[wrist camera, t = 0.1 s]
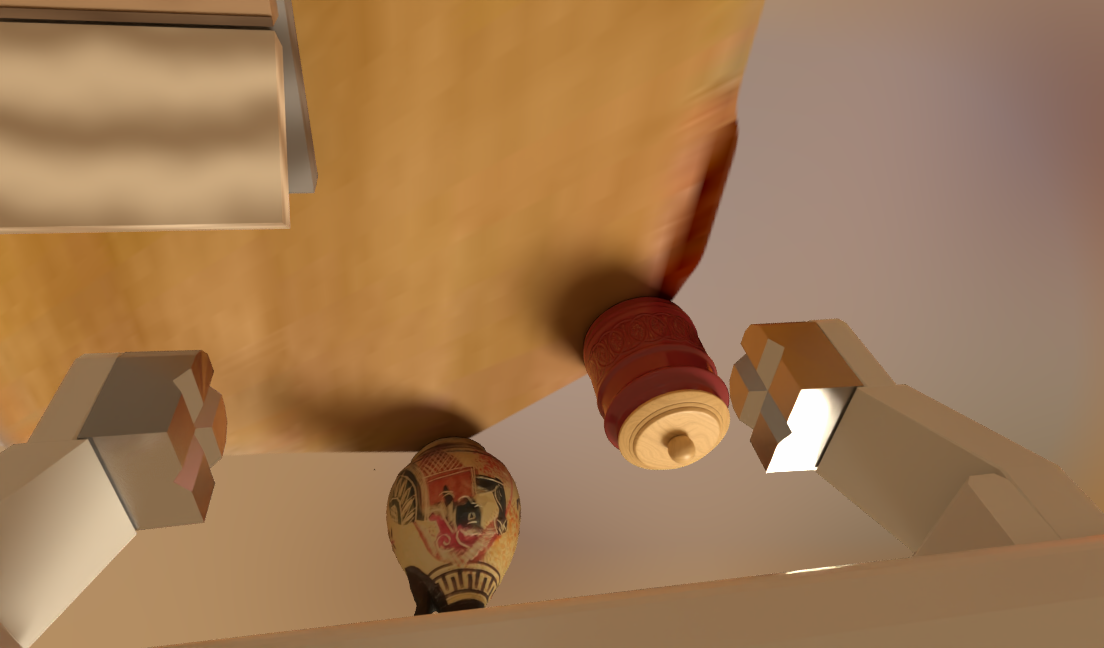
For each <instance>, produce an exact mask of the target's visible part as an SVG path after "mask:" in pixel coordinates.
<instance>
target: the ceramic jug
mask: <svg viewBox="0 0 1104 648" xmlns="http://www.w3.org/2000/svg"><path fill="white" fill-rule="evenodd" d="M386 514H387V516H386V520H387V527H388V535H389V539H390V542H391V544H392V549H393V552H394V553H395V555H396V558H397V560H398V562H399V564H400V565H401V567H402V569H403V570H404V571H405V573H406V575H407V577H408V580H409V584H410V589H411V592H412V594H413V597H414V600H415V602H416V605H417V607H416V611H415V614H414V616H419V615H427V614H432V613H433V612H434V611H437V612H438V613H444V612H453V611H461V610H470V609H478V608H485V606H486V605H487V603H488V602H489V600H490V599H491V598H492V596H493V594H494V592H495V591H496V589H497V587H498V586H499V584H500V583H501V581H502V578H503V576H504V574H505V572H506V571H507V569H508V567H509V564H510V562H511V560H512V557H513V554H514V552H515V549H516V545H517V540H518V535H519V526H520V519H521V505H520V498H519V494H518V490H517V487H516V484H515V482H514V480H513V478H512V476H511V475H510V473H509V471H508V470H507V468H506V467H505V465H504V464H503V463H502V462H501V461H500V460H498V459H497V458H495V457H494V456H492V455H491V454H489V453H487V452H486V450H485V448H484V447H482V446H481V445H480V444H479V443H477V442H476V441H473V440H471V439H468V438H460V437H448V438H442V439H438V440H436V441H434V442H432V443H430V444H428V445H426V446H425V447H423V448H422V449H421V450H420V451H419V452H418V453H417V454H416V455H415V456H414V457H413V459H412V461H411V463H410V464H409V465H407V466H406V467H405V468H404V469H403V470H402V471H401V472H400V473H399V474H398V476H397V478H396V480H395V482H394V484H393V486H392V488H391V491H390V494H389V497H388V502H387V511H386Z"/></svg>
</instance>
